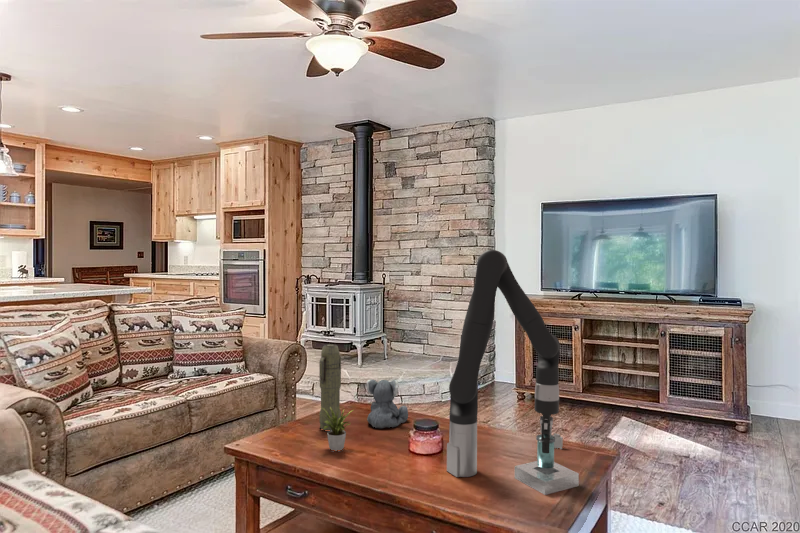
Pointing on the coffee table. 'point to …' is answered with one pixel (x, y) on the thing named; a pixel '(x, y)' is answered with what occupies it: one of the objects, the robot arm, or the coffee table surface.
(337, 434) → the house plant
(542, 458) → the cover plug
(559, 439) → the lighter
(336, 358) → the thermos
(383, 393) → the koala plush
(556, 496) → the coffee table surface
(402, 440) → the coffee table surface
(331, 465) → the coffee table surface
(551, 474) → the bore housing
